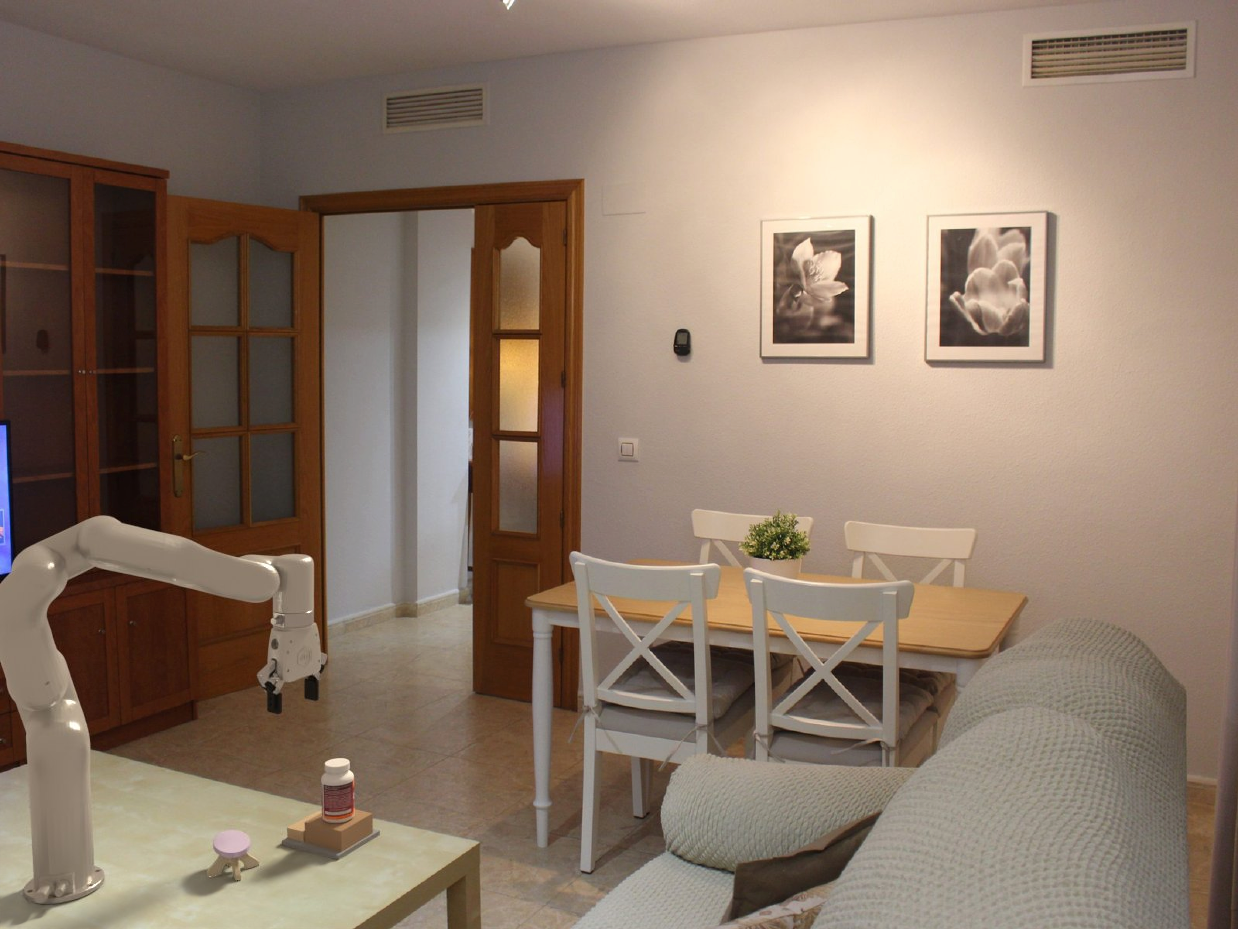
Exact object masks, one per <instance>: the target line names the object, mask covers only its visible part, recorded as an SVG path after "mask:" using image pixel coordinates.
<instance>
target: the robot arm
mask: <svg viewBox="0 0 1238 929" xmlns="http://www.w3.org/2000/svg"><path fill="white" fill-rule="evenodd" d="M95 567H96V568H98V569H102V570H106V571H111V572H116V573H122V574H126V575H131V576H136V577H139V578H140V577H142V578H144V579H145V578H146V579H150V580H154V581H158V582H159V581H160V582H164V583H168V584H172V585H175V586H178V587H183V588H187V589H192V590H196V591H199V592H203V593H207V594H211V595H215V596H219V597H222V598H228V599H233V600H237V601H242V602H247V603H253V604H254V603H255V604H257V603H264V602H266V601H269V600H271V598H272V618H271V619H270V624H271V625H272V628H271V630H270V636H269V641H268V647H267V648H268V650H267V664H265V665H264V667H262V669H260V670H259V671H258V672H257V674H256V677H257V679H258V682H259V684H260V686H261V688H263V691H264V692H265V693H267V695H266V696H267V697H266V698H267V699H266V700H267V701H266V708H267V712H268V713H272V714H276V715H280V714H282V712H283V693H282V692H281V689H282V687H283V685H284V684H285V683H293V682H295V681H298V680H302V679H304V681H303V682H304V683H303V685H304V688H303V689H304V690H303V693H304V699H306V700H309V701H314V702H317V701H319V698H320V697H319V696H320V695H319V694H320V693H319V692H320V689H319V688H320V686H319V685H320V684H319V683H320V682H319V681H320V680H322V673H323V672H324V670H325V668H326V667H325V666H326V663H327V662H326V661H327V659H328V654H326V653H325V652H322V651H321V640H320V633H319V628H318V625H317V622H315V596H314V595H315V562H314V558H313V557H311V556H310V555H308V554H299V553H290V554H289V553H288V554H282V555H279V556H278V555H264V554H263V555H261V554H245V555H242V556H239V557H238V556H237V557H236V556H233V555H229V554H225V553H223V552H219V551H216V550H213V549H210V548H208V547H206V546H204V545H201V544H200V543H197V542H195V541H193V540H191V539H189V538H186V537H183V536H179V535H175V534H170V533H166V532H161V531H156V530H152V529H148V528H143V527H140V526H137V525H136V526H135V525H131V524H127V523H124V522H121V521H120V520H118V519H116V518H115V517H113V516H110V515H97V516H93V517H91V518H88V519H85V520H83V521H81V522H80V523H78V524H75V525H73V526H70V527H69V528H66V529H65V530H62V531H60V532H58V533H55V534H54V535H52V536H49V537H47V538H44V539H43V540H40V541H38V542H36V543H34V544H32V545H30V546H28V547H26V548H24V549H23V550H22V551H21V552H20V553H18V554H17V556H16V557H15V558H14V560H13V562H12V564H11V569H10V570H11V571H10V573H9V574H8V575H7V576H6V577H4V579H3V580H2V581H1V583H0V664H1V667H2V671H3V673H4V678H5V679H6V687H7V691H8V694H9V695H10V697H11V699H12V700H13V701H14V703H15V704H16V707H17V711H18V713H19V715H20V719H21V720H22V724H23V727H24V730H25V742H26V744H25V745H26V761H27V776H28V779H27V780H28V796H29V797H28V798H29V811H30V812H29V813H30V831H31V849H32V850H31V851H32V870H33V871H32V872H33V873H32V874H33V878H31V879H30V880H29V881H27V883H26V884H25V886H24V888H23V896H24V897H25V898H24V899H25V900H27V901H28V902H32V903H34V904H35V903H36V904H41V905H51V904H60V903H66V902H71V901H73V900H77V899H80V898H83V897H85V896H87V895H89V894H91V893H94V892H95V891H96V890H97V889H98V888H100V887H101V886H102V885H103V884H104V881H105V872H104V870H103V869H102V868H100V866H97V865H95V855H94V854H95V852H94V851H95V850H94V833H93V832H94V828H93V826H94V825H93V811H92V809H93V808H92V790H91V789H92V788H91V741H90V740H91V738H90V733H89V728H88V724H87V721H86V718H85V715H84V714H85V713H84V711H83V709H82V706H81V703H80V700H79V698H78V693H77V691H76V688H75V686H74V682H73V679H72V677H71V673H70V670H69V668H68V664H67V661H66V659H65V657H64V655H63V654H62V653H61V652H60V651H59V650H58V649H57V646H56V644H55V640H54V638H53V633H52V629H51V626H50V624H49V620H48V617H47V616H48V615H47V613H48V609H49V607H50V605H51V604H52V602H53V601H54V600H55V599H56V598H57V597H58V596H59V595H60V594H61V593H62V592H63V591H64V589H65V588H66V586H67V582H68V581H69V580H71V579H73V578H75V577H77V576H79V575H81V574H83V573H85V572H87V571H88V570H91V569H93V568H95ZM275 682H276V683H275ZM274 684H275V685H274Z"/></svg>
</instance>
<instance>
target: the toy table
mask: <svg viewBox="0 0 1238 929" xmlns="http://www.w3.org/2000/svg"><path fill="white" fill-rule="evenodd" d="M250 849H251V839H250V836H249V835H248V834H247V833H245V832H243V831H241V830H237V829H236V830H235V829H229V830H228V829H227V830H224V831H221V832H219V833H218V834H216V835H215V836H214V838H213V840H212V850H213V851H214V852H215V853H216V854H217V855H218V857H217V858H216V859H215V860H214V862H212V864H211V865H210V867H208V868H207V870H206V876H207V878H210V877H209V876H213V877H216V876H215V875H217V876H220V875H219V874H221V875H222V874H223V869H224V867H225V866H227V867H228V866H230V867H231V868H232V876H234V877H233V878H234V880H235V882H237V880H238V881H241V880H242V875H241V869H240V864H239V861H240V862H242V863H243V867H244V869H245V868H247V869H250V867H251V868H254V867H253V866H255V867H258V866H259V865H260V862H259V860H258V859H257V858H256V857H254V856H253V855H252V854H249V851H250ZM240 879H241V880H240Z"/></svg>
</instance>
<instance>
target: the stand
mask: <svg viewBox="0 0 1238 929" xmlns="http://www.w3.org/2000/svg"><path fill="white" fill-rule="evenodd" d="M373 823H374V822H373V813H372V812H368V811H364V810H360V809H356V808H355V815H354V817H353V818H352V819H350V820H348V821H346V822H342V823H329V822H326V821H324V820H323V818H322V810H318V811H315V812H313V813H311V814H310V815H308V816H306V817H304V818H303V819H300V820H299V821H297V822H295V823H293V824H291V825H289V826H287V828H286V834H287V835H286V836H287V837H286V838H284V839H282V840H281V845H283V846H286V847H289V848H293V849H297V850H300V851H304V852H308V853H312V854H316V855H319V856H322V857H327V858H330V859H333V860H334V859H335V860H340V859H343V857H345V856H347V855H349V854H350V853H352V852H353V851H355V850H357V849H359V848H360V847H362V846H363V845H365V844H367V843H368V842H369V841H371V840H374V839H375V838H377V837H378V836H380V834H381V833H380V832H381V831H380V829H379V830H378V829H375V828H374V825H373Z"/></svg>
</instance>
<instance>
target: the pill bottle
mask: <svg viewBox="0 0 1238 929" xmlns="http://www.w3.org/2000/svg"><path fill="white" fill-rule="evenodd" d="M350 765H351V762H350V760H349V759H347V758H343V757H341V758H340V757H339V758H338V757H337V758H332V759H328V760H327V761H325V762H324V773H323V774H322V776H321V778H320V785H321V786H320V787H321V788H320V789H321V791H320V792H321V793H320V794H321V811H322V818H323V820H324V821H326V822H329V823H342V822H346V821H348V820H350V819H352V818H353V817H354V815H355V809H356V808H355V807H356V806H355V805H356V803H355V775H354V773H353V772H352V771H351V770H350V768H351V766H350Z"/></svg>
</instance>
